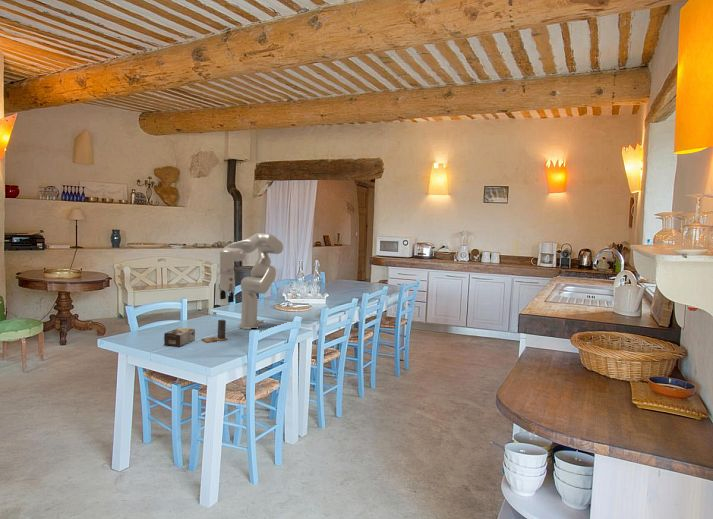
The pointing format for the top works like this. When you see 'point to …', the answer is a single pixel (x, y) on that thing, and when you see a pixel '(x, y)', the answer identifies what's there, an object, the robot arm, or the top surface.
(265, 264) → the robot arm
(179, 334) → the coffee box
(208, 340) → the brown l-shaped piece
